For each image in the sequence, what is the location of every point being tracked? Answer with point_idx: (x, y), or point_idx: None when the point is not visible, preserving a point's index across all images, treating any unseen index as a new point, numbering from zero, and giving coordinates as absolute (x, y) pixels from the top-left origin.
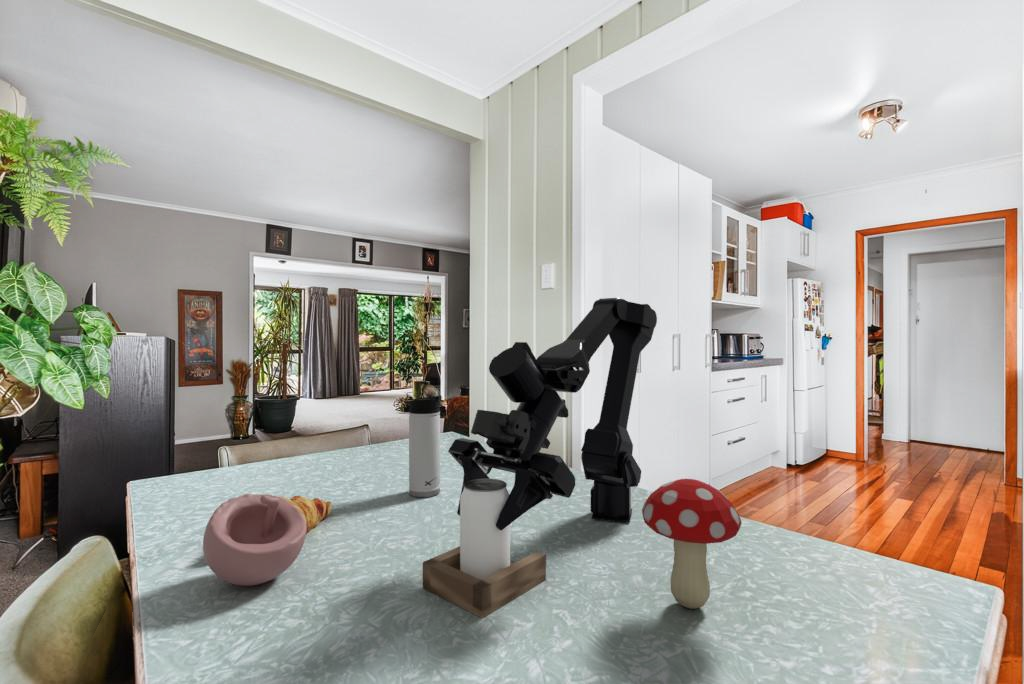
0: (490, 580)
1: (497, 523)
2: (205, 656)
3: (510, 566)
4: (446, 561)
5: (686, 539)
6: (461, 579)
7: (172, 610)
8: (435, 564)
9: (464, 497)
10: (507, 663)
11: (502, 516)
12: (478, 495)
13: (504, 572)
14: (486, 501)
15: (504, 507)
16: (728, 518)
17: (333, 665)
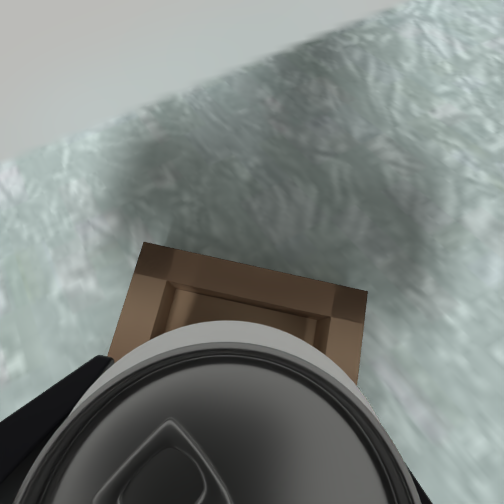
0: (144, 289)
1: (100, 361)
2: (459, 14)
3: None
4: (324, 343)
5: None
6: (217, 259)
7: None
8: (329, 296)
9: (301, 345)
10: (57, 167)
11: (63, 386)
12: (182, 346)
13: (128, 349)
14: (128, 358)
15: (39, 429)
16: None
17: (298, 63)
